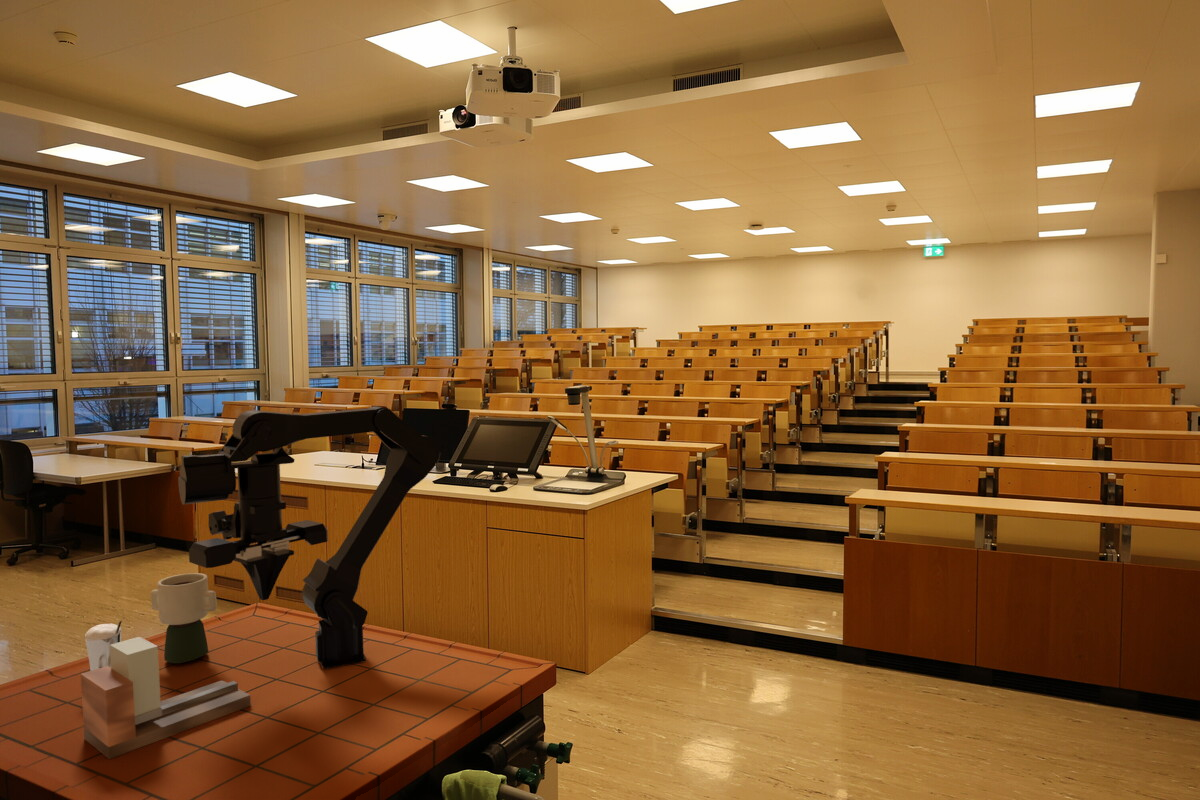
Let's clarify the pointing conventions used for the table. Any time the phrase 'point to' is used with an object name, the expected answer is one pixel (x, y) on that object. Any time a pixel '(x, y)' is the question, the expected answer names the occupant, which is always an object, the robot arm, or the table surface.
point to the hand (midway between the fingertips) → (264, 599)
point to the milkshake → (101, 644)
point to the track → (115, 719)
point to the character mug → (184, 614)
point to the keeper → (139, 675)
